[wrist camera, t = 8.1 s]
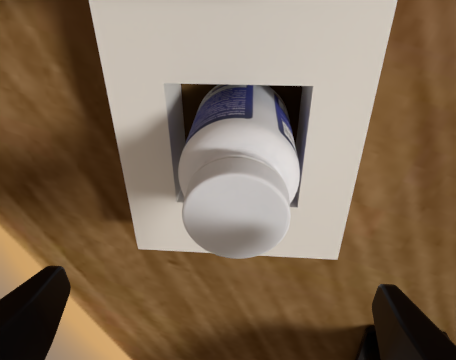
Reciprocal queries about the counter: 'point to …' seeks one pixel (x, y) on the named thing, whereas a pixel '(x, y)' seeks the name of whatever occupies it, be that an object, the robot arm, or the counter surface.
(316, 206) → the socket block
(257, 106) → the pill bottle
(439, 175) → the counter surface
